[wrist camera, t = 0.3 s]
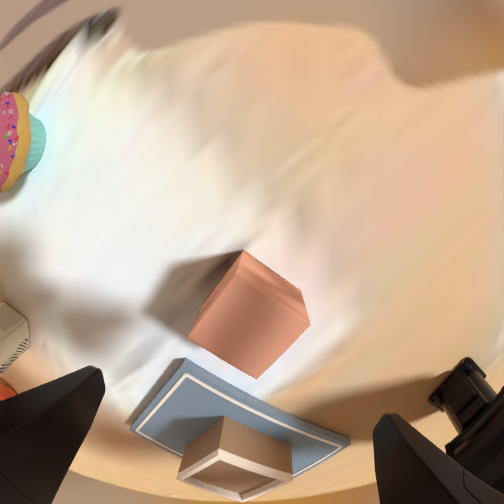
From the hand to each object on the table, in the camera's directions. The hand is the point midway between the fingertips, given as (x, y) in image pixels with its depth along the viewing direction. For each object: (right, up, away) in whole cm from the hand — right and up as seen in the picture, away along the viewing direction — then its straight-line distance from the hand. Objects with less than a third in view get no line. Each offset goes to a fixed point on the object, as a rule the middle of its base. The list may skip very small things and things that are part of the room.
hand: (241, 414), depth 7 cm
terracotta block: (0, +1, +13) cm, 13 cm away
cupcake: (-20, +15, +10) cm, 27 cm away
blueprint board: (-1, -15, +17) cm, 23 cm away
